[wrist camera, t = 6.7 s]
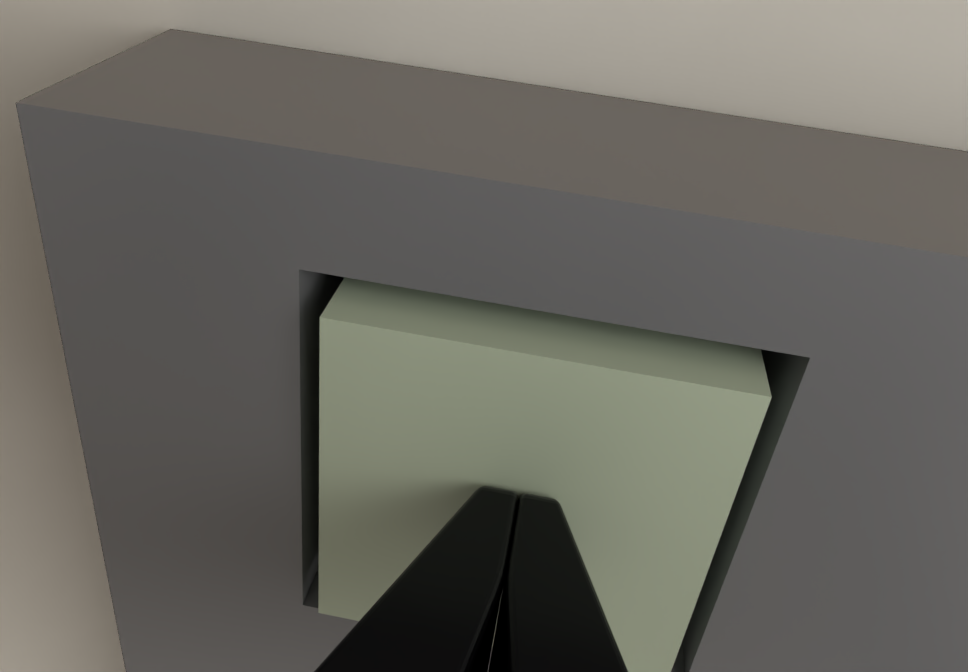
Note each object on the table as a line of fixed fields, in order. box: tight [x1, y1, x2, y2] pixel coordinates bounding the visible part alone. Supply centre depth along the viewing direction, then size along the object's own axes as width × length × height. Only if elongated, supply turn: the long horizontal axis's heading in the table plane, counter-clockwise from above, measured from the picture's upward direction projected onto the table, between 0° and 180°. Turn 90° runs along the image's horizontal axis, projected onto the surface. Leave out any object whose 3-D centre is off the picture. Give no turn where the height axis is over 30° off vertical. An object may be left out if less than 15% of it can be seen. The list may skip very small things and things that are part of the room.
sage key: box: [318, 277, 772, 672], centre depth 10 cm, size 4×4×2 cm
